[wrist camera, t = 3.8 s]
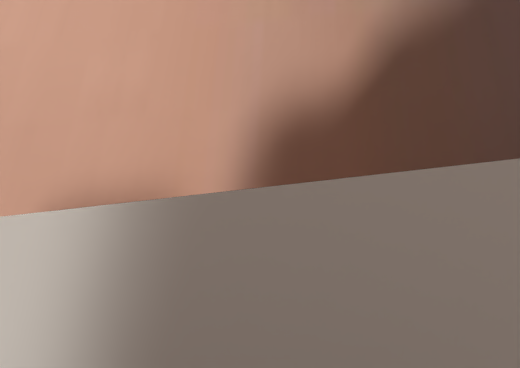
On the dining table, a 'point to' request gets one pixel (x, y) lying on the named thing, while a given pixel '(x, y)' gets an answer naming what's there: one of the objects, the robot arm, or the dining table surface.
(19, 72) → the dining table surface
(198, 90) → the dining table surface
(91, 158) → the dining table surface
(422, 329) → the cream block
